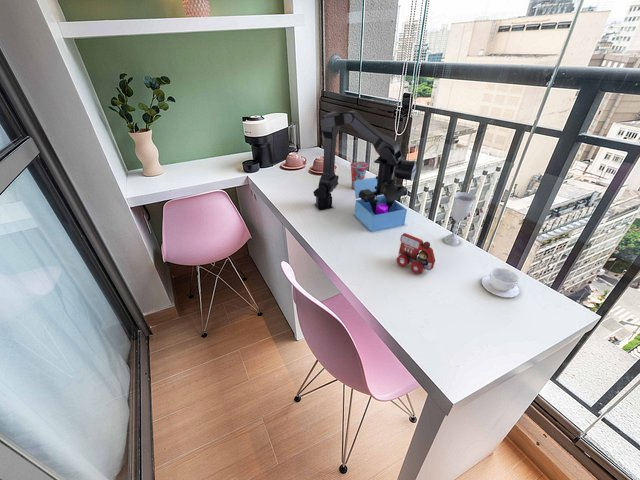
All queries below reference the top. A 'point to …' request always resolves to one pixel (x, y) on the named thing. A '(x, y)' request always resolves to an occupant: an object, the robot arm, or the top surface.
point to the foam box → (380, 215)
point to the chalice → (459, 213)
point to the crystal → (381, 209)
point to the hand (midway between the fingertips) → (380, 212)
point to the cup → (358, 171)
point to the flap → (365, 185)
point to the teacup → (502, 282)
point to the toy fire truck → (415, 254)
